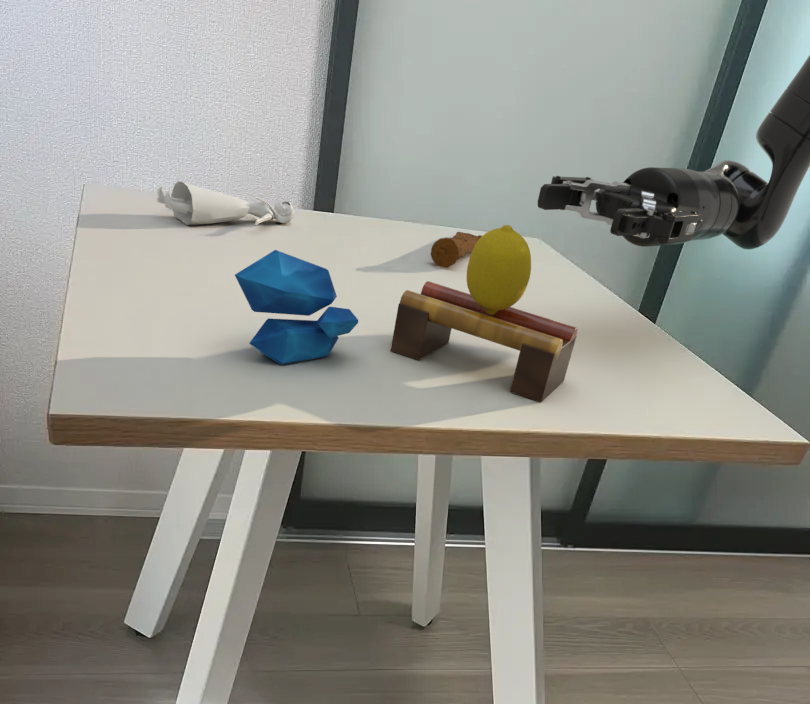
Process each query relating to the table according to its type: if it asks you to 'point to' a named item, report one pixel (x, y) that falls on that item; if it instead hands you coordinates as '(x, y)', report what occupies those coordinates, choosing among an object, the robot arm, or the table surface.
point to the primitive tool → (453, 248)
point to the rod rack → (486, 335)
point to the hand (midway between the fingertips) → (578, 209)
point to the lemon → (499, 269)
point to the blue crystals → (293, 307)
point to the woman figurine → (219, 206)
